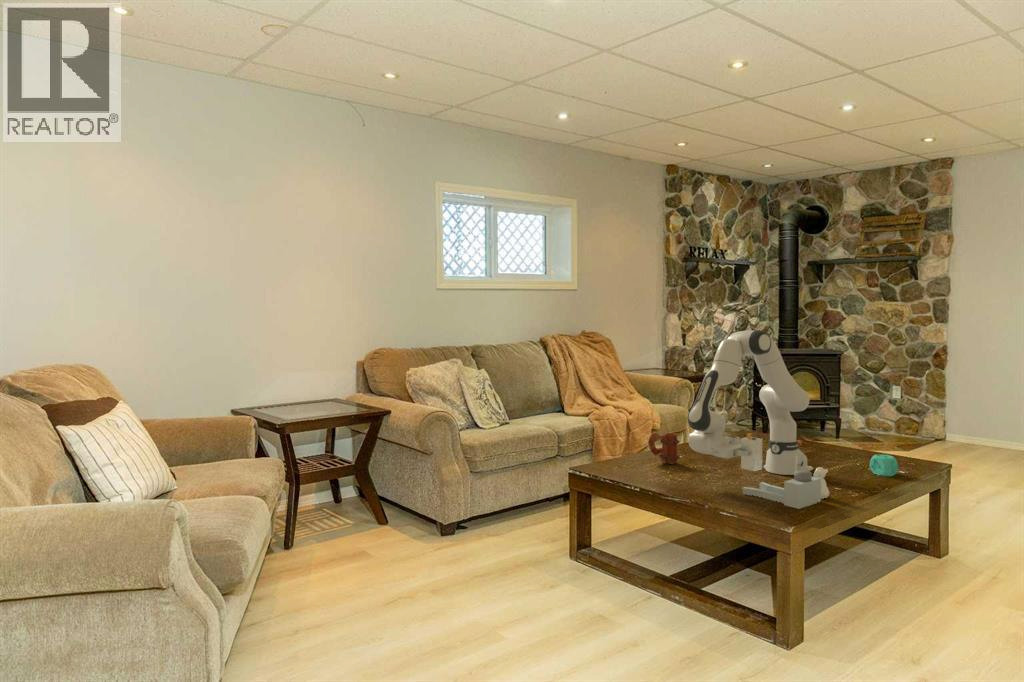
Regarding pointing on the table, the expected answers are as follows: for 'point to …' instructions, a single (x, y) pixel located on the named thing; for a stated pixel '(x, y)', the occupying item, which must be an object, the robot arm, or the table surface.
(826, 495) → the white creature statuette
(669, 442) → the mug
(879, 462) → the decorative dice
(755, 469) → the block
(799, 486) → the bracket
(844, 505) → the table surface
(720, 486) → the table surface
